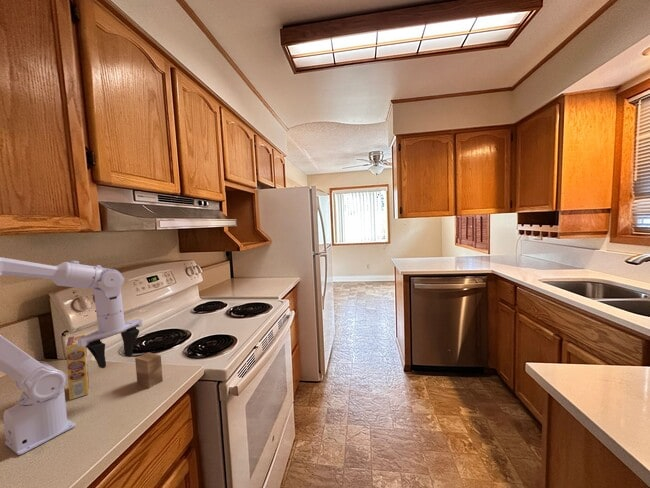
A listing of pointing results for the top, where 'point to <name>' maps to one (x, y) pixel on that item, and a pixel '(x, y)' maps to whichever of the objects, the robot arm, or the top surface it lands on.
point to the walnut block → (149, 369)
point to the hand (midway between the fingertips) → (116, 361)
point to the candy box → (77, 368)
